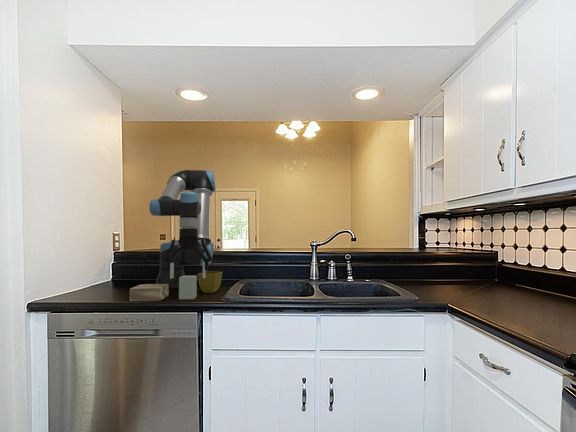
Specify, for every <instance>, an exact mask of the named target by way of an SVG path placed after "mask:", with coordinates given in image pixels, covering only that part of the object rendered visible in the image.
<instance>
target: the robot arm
mask: <svg viewBox="0 0 576 432" xmlns="http://www.w3.org/2000/svg"><path fill="white" fill-rule="evenodd" d="M215 180H216V179H215V174H214V172H213V171H212V170H206V169H202V170H201V169H200V170H198V169H196V170H195V169H194V170H193V169H183V170H180V171H177V172H175V173H173V174H172V175H171V176H169V178H168V180H167V182H166V187H165V188H164V190H163V191H162V194H161V195H160V196H159V198H155V199H151V200H150V203H149V212H150V214H151V216H156V217H174V216H175V217H179V231H178V232H179V234H178V235H179V239H174V238H173V239H171V241H169V242H168V241H167V242H162V243H161V244H160V247H159V273H158V276H157V278H156V282H155V284H169V289H179V277H181V276H186V275H185V272H184V267H185V266H187V267H188V266H190V267H191V266H202V273H203V278H206V272H207V271H208V270H209V265H210V264H211V263H212V261H213V259H214V258H213V257H214V256H213V255H214V250H215V249H214V248H215V245H214V242H212V240H211V238H210V237H209V228H210V227H209V226H210V202H211V201H210V199H211V198H210V197H211V196H213V193H214V192H216V182H215Z"/></svg>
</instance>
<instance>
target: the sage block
mask: <svg viewBox="0 0 576 432" xmlns="http://www.w3.org/2000/svg"><path fill="white" fill-rule="evenodd" d="M197 282H198V275H185V276H181V277H179V288H178V300H195V298H197V296H198V293H197V291H198V289H197V288H198V283H197Z"/></svg>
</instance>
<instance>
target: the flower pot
mask: <svg viewBox="0 0 576 432" xmlns="http://www.w3.org/2000/svg"><path fill="white" fill-rule="evenodd" d="M222 278H223V271H206V278H203V272H199V273H197V282H198V286H199V288H200V290H201V291H202V293H205V294H207V293H208V294H213V293H216V292H218V290H219V288H220V287H221V284H222Z"/></svg>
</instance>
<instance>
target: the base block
mask: <svg viewBox="0 0 576 432" xmlns="http://www.w3.org/2000/svg"><path fill="white" fill-rule="evenodd" d="M169 289H170V288H169V284H156V283H144V284H143V283H142V284H138V285H136V286H133V287H131V288H129V298H128V299H129V302H159V301H162V300H163V299H165V298H167V297H168V296H169V292H170V290H169Z"/></svg>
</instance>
